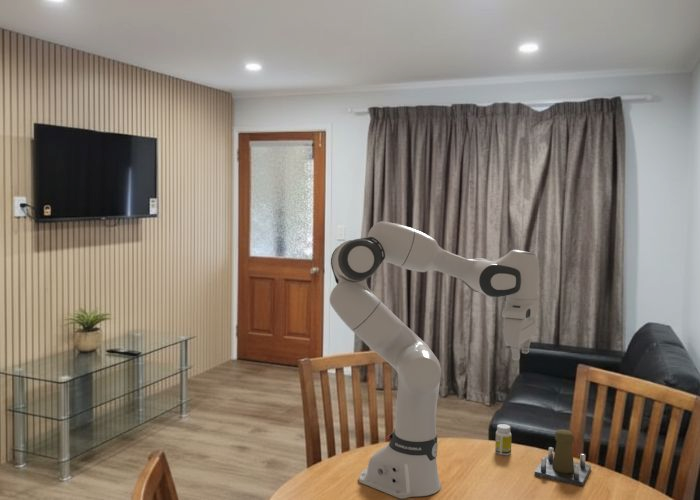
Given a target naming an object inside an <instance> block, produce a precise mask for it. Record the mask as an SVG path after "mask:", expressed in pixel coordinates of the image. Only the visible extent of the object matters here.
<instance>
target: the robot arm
mask: <svg viewBox="0 0 700 500" xmlns="http://www.w3.org/2000/svg"><path fill="white" fill-rule="evenodd" d="M382 263H387V264H391V265H393V266H397V267H399V268H401V269H405V270H409V271H414V272H417V273H426V272H429V271H436V272H439V273H442V274H445V275H448V276H451V277H454V278H456V279H459V281H460V280H461V281H462V282H463V283H464V285H466V286H467V287H468V289H470V290H471V291H473V292H476V293H480V294H482V295H484V296H487V297H490V298H499V297H500V298H501V297H505V305H504V307H503V309H502V311H501V316H502V317H503V318H504V319H503V337H504V338H503V340H504V344H505V346H506V347H510V351H511V360H513V361H517V362H518V361H519V360H520V358H521V354H524V355H527V354H528V353H530V346H531V340H532V338H533V337H535V335H536V333H537V316H538V315H539V308H540V307H539V306H540V305H539V303H540V302H539V301H540V297H539V293H538V292H539V291H538V289H539V285H540V265H539V264H540V263H539V258H538V256H537V255H536V254H535V253H533V252H528V251H524V250H519V249H512V250H510V251H509V252H508V253H506V254H505V255H503V256H501V257H499V258H498V259H494V260H490V259H487V258H482V257H481V258H480V257H479V258H467V257H463V256H460V255H458V254H455V253H452V252H451V251H447V250H445V249H444V248H443V247H440V245H439V243H438V242H437V240H436V239H434V238H433V237H431V236H430V235H428V234H426V233H424V232H422V231H420V230H417V229H415V228H412V227H409V226H407V225H402V224H400V223H394V222H390V221H384V220H383V221H382V220H381V221H378V222H376V223H375V224H373V226H371V228H370V229H369V231H368V233H367V236H366V237H362V238H355V239H351V240H346V241H344V242H342V243H340V245H338V246H337V247H336V248H335V249H334V250H333V252H332V254H331V257H330V267H331V270H332V272H333V273H332V274H333V277H334V280H335V283H336V285H335V286H334V287H333V289H332V291H331V292H330V296H329V303H330V306H331V307H332V309H333V310H334V312H335V313H336V315H337V316H338V317H339V318H340V319H341V320H342V322H343V323H344V324H345V325H346V326H347V327H348V328H349V329H350V330H351V331H352V332H353V333H354V334H355V335H356V337H358V338H359V339H360V340H361V341H362V342H363V343H364V344H365V345H366V347H368V348H369V349H371V351H372V352H375V353H376V354H377V355H378V356H380V358H382V359H383V360H385V361H386V362H387V363H388V365H390V366H391V367H392V368H393V369H394V370H395V371H396V372H397V391H396V401H395V414H394V415H395V418H394V419H395V420H394V422H395V424H394V429H393V431H392V432H389V435H387V436H386V440H385V441H387V442H388V441H389V443H387V444H386V445H385V446H383V447H381V448H380V449H379V450H376V452H375V453H373V454H372V455H371V456H370V458H369V461H368V465H367V467H366V468H365V469H363V471H361V473H360V474H359V476H358V477H359V478H358V482H359V483H360V484H363V485H365V486H368V487H370V488H373V489H375V490H378V491H379V492H383V493H385V494H388V495H390V496H392V497H395V498H398V499H401V500H402V499H407V498H411V497H426V496H430V495H433V494H435V493H437V492H439V491H440V490H441V488H442V487H441V486H442V484H441V481H440V477H439V472H438V464H437V456H438V455H437V454H438V451H439V450H438V448H439V447H438V446H439V445H438V435H437V405H438V399H439V393H440V386H441V385H440V384H441V377H442V368H441V363H440V361H439V359H438V357H437V356H436V355H435V353H434V352H433V351H432V350H431V348H430V347H429V345H428V344H427V343H426V342H425V341H424V340H422V338H421V337H419V336H418V335H417V334H416V333H415V332H414V331H413V330H412V329H411V328H409V327H408V326H407V325H406V323H404V322H403V321H402V320H401V319H400V318H399V317H397V315H396V314H394V313H393V311H391V309H390V308H388V307H387V306H386V305H385V304H384V303H383V302H382V301H381V300H380V299H379V297H377V296H376V295H375V294H374V293H373V292H372V290H371V289H370V288H369V285H368V284H367V280H368V279H369V278H371V277H372V276H373V275H374V274H375V273H376V272H377V271H378V269H379V267H380V266H381V264H382ZM520 347H521V348H520ZM520 349H521V353H520Z"/></svg>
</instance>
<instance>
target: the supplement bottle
mask: <svg viewBox="0 0 700 500" xmlns="http://www.w3.org/2000/svg"><path fill="white" fill-rule="evenodd" d="M495 453H496V454H498V455H500V456H509V455H511V454H512V433H511V425H510V424H506V423H505V424H504V423H500V424H499V423H498V424H497V426H496V431H495Z"/></svg>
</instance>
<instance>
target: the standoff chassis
mask: <svg viewBox="0 0 700 500" xmlns="http://www.w3.org/2000/svg"><path fill="white" fill-rule="evenodd" d="M547 452H548V455H545V456H544V457H541V458H540V462H539V464H538V466H537V467H536V468H535V470H534V471H533V472H534V473H533V476H534V477H538V478H543V479H548V480H552V481H557V482H560V483H566V484H569V485H570V484H571V485H575V486H578V487H584V484H585V482H586V480H587V478H588V476H589V474H590V472H591V470H592V465H591V464H586V453H580V456H579V457H580V458H579V462H575V461H573V463H574V471H573V472H570V473H563V472H559V471H556V470H554V469H553V468H552V465H553V459H554V452H555V449H554V447H552V446H548V451H547Z"/></svg>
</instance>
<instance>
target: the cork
mask: <svg viewBox="0 0 700 500" xmlns="http://www.w3.org/2000/svg"><path fill="white" fill-rule="evenodd" d="M554 439H555V441H556V443H555V449H554V453H553V457H554V459H553V465H552V468H553V469H554V470H556V471H559V472H563V473H570V472H573V471H574V463H573V462H574V456H573V445H572V444H573V442H574V439H575V436H574V434H573V432H572V431H570V430H568V429H557V430H556V431H555V433H554Z"/></svg>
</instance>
